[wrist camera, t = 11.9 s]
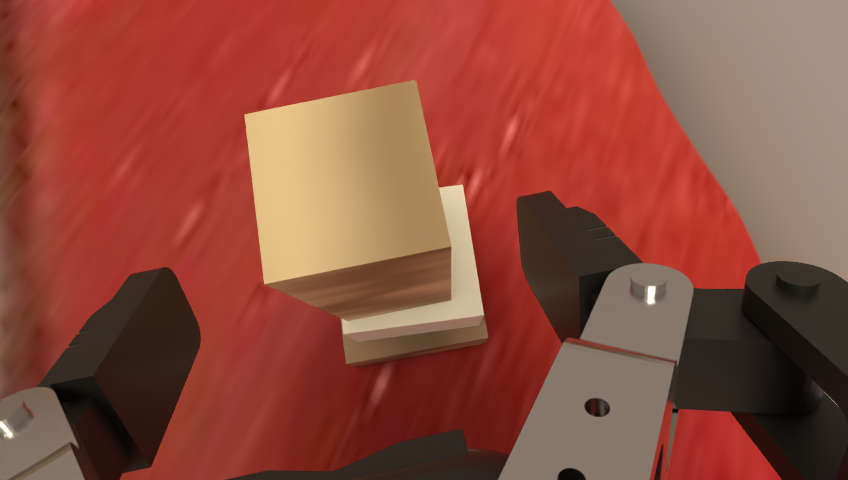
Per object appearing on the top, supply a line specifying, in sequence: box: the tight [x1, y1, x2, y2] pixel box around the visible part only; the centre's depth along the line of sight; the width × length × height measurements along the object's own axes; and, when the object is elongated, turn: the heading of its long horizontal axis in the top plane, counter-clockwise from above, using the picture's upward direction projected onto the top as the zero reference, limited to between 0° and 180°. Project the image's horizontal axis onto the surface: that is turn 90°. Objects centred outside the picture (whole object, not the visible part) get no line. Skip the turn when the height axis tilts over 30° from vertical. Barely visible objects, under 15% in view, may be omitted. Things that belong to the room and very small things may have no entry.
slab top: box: [342, 185, 484, 342], centre depth 24 cm, size 6×6×4 cm
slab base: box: [340, 316, 489, 367], centre depth 27 cm, size 7×7×4 cm
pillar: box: [245, 80, 451, 321], centre depth 17 cm, size 4×4×10 cm
